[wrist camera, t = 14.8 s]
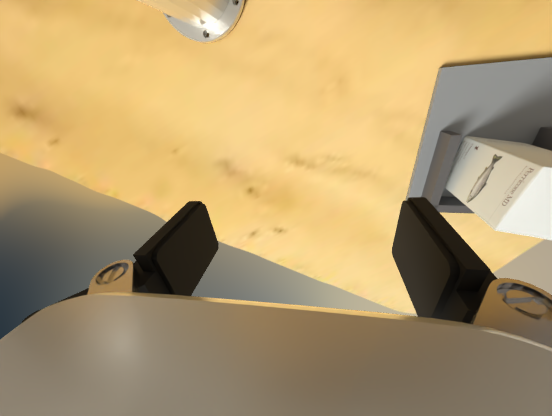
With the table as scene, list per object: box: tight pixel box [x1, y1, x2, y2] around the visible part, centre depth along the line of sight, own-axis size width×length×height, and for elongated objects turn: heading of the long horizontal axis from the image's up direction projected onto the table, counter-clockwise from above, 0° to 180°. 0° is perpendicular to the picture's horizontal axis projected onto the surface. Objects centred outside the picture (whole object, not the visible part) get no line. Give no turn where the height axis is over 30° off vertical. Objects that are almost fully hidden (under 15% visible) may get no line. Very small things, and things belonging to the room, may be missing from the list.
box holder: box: [406, 57, 552, 213], centre depth 28 cm, size 19×16×4 cm
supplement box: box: [445, 136, 552, 240], centre depth 25 cm, size 7×7×13 cm
